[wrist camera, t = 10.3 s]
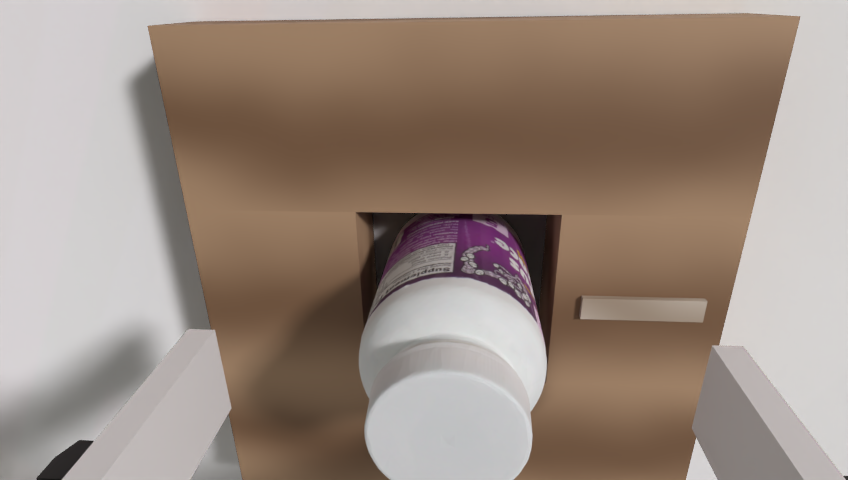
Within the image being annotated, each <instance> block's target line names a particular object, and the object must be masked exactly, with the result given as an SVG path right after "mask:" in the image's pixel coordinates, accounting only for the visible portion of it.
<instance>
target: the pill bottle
mask: <svg viewBox="0 0 848 480" xmlns="http://www.w3.org/2000/svg"><path fill="white" fill-rule="evenodd" d="M359 371H360V376H361V380H362V384H363V387H364V389H365V391H366V394H367V396H368V398H369V404H368V409H367V414H366V420H365V425H364V434H365V442H366V446H367V449H368V451H369V454H370V456H371V458H372V459H373V461H374V463H375V464H376V466H377V467H378V469H379V470H380V471H381V472H382V473H383V474H384V475H385V476H386V477H387V478H389V479H390V480H514V479H515V478H516V477H517V476H518V475H519V473H520V472H521V471H522V469H523V468H524V466H525V465H526V463H527V461H528V459H529V456H530V452H531V448H532V438H533V435H532V423H531V413H530V412H531V411H532V410H533V408H534V407H535V405H536V403H537V401H538V400H539V398H540V395H541V393H542V390H543V387H544V383H545V378H546V372H547V357H546V348H545V342H544V337H543V333H542V329H541V324H540V320H539V315H538V311H537V306H536V302H535V297H534V293H533V289H532V284H531V280H530V276H529V272H528V266H527V263H526V258H525V254H524V250H523V246H522V244H521V242H520V240H519V238H518V236H517V234H516V233H515V231H514V230H513V228H512V227H511V226H510V225H509V224H508V223H507V222H506V221H505V220H504V219H503V218H502V217H500V216H499V215H497V214H462V213H418V214H417V215H415V216H414V217H413V218H411V219H410V220H409V221H408V222H407V223H406V224H405V225H404V226H403V228H402V229H401V230H400V232H399V233H398V235H397V237H396V239H395V241H394V243H393V246H392V248H391V251H390V254H389V257H388V260H387V263H386V266H385V269H384V272H383V275H382V278H381V281H380V284H379V287H378V290H377V292H376V295H375V299H374V301H373V304H372V307H371V310H370V313H369V316H368V319H367V323H366V325H365V328H364V331H363V334H362V336H361V343H360V349H359Z"/></svg>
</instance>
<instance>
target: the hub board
mask: <svg viewBox="0 0 848 480" xmlns="http://www.w3.org/2000/svg"><path fill="white" fill-rule="evenodd" d="M799 20H800V16H783V15H766V14H749V13H742V14H674V15H607V16H540V17H473V18H405V19H338V20H271V21H204V22H186V23H174V24H163V25H152V26H148V30H149V35H150V40H151V44H152V49H153V54H154V59H155V64H156V68H157V73H158V78H159V83H160V87H161V92H162V97H163V102H164V107H165V111H166V116H167V121H168V126H169V130H170V135H171V140H172V145H173V150H174V154H175V159H176V164H177V169H178V173H179V178H180V183H181V188H182V193H183V197H184V202H185V207H186V212H187V216H188V221H189V226H190V231H191V236H192V240H193V245H194V250H195V255H196V259H197V264H198V269H199V274H200V279H201V283H202V288H203V293H204V298H205V302H206V307H207V312H208V317H209V322H210V326H211V330H215V332H216V337H217V342H218V347H219V351H220V356H221V361H222V366H223V370H224V375H225V380H226V384H227V389H228V394H229V399H230V403H231V410H230V412H229V417H230V422H231V427H232V431H233V436H234V441H235V446H236V451H237V455H238V460H239V465H240V470H241V474H242V479H243V480H390V479H389V478H387V477H386V476H385V475H384V474H383V473H382V472H381V471H380V470H379V469H378V467H377V466H376V464H375V463H374V461H373V459H372V458H371V456H370V454H369V451H368V449H367V446H366V442H365V434H364V425H365V420H366V414H367V409H368V404H369V398H368V396H367V394H366V391H365V389H364V387H363V384H362V380H361V376H360V371H359V349H360V343H361V336H362V334H363V331H364V328H365V325H366V323H367V319H368V316H369V313H370V310H371V307H372V304H373V301H374V299H375V295H376V292H377V282H376V265H375V248H374V231H373V214H372V212H384V213H462V214H540V215H547V218H546V231H545V243H544V255H543V267H542V279H541V291H540V304H539V320H540V324H541V329H542V333H543V337H544V342H545V348H546V357H547V372H546V378H545V383H544V387H543V390H542V393H541V395H540V398H539V400H538V401H537V403H536V405H535V407H534V408H533V410H532V411H531V412H530V413H531V423H532V435H533V438H532V448H531V452H530V456H529V459H528V461H527V463H526V465H525V466H524V468H523V469H522V471H521V472H520V473H519V475H518V476H517V477H516V478H515V479H514V480H686V476H687V472H688V468H689V464H690V460H691V456H692V452H693V448H694V444H695V440H696V436H695V434H694V432H693V430H692V424H693V420H694V416H695V412H696V408H697V404H698V400H699V396H700V392H701V388H702V384H703V380H704V376H705V372H706V368H707V364H708V360H709V356H710V352H711V348H712V345H716V346H719V343H720V339H721V335H722V331H723V327H724V323H725V319H726V315H727V311H728V307H729V303H730V299H731V295H732V290H733V286H734V282H735V278H736V274H737V270H738V266H739V262H740V258H741V254H742V250H743V246H744V242H745V238H746V234H747V230H748V226H749V222H750V218H751V214H752V210H753V206H754V202H755V198H756V194H757V190H758V186H759V182H760V177H761V173H762V169H763V165H764V161H765V157H766V153H767V149H768V145H769V141H770V137H771V133H772V129H773V125H774V121H775V117H776V113H777V109H778V105H779V101H780V97H781V93H782V89H783V85H784V81H785V77H786V73H787V69H788V64H789V60H790V56H791V52H792V48H793V44H794V40H795V36H796V32H797V28H798V24H799Z"/></svg>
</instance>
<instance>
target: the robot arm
mask: <svg viewBox="0 0 848 480" xmlns="http://www.w3.org/2000/svg"><path fill="white" fill-rule="evenodd" d="M230 410H231V403H230V399H229V394H228V389H227V384H226V380H225V375H224V370H223V366H222V361H221V356H220V351H219V347H218V342H217V337H216V332H215V330H205V329H188V330H187V331H186V332H185V333H184V334H183V336H182V337H181V338H180V339H179V340H178V342H177V343H176V344H175V345H174V346H173V348H172V349H171V350H170V351H169V352H168V353H167V355H166V356H165V357H164V358H163V359H162V361H161V362H160V363H159V364H158V365H157V367H156V368H155V369H154V370H153V371H152V373H151V374H150V375H149V376H148V377H147V379H146V380H145V381H144V382H143V383H142V385H141V386H140V387H139V388H138V389H137V390H136V392H135V393H134V394H133V395H132V396H131V398H130V399H129V400H128V401H127V402H126V404H125V405H124V406H123V407H122V408H121V410H120V411H119V412H118V413H117V414H116V416H115V417H114V418H113V419H112V420H111V422H110V423H109V424H108V425H107V426H106V427H105V429H104V430H103V431H102V432H101V433H100V435H99V436H98V437H97V438H96V439H95V441H86V440H79V441H77V442H76V443H75V444H73V445H72V446H70V447H69V448H68V449H66V450H65V451H63V452H62V453H61V454H59V455H58V456H56V457H55V458H54V459H53V460H52V461H51V462H50V464H49V465H48V466H47V467H46V468H45V469H44V470H43V471H42V473H41V474H40V475H39V476H38V477H37V480H191V478H192V476H193V474H194V473H195V471H196V469H197V468H198V466H199V464H200V462H201V461H202V459H203V457H204V455H205V454H206V452H207V450H208V448H209V447H210V445H211V443H212V441H213V440H214V438H215V436H216V434H217V433H218V431H219V429H220V427H221V426H222V424H223V422H224V420H225V419H226V417H227V415H228V413H229V412H230ZM692 430H693V432H694V434H695V436H696V438H697V440H698V442H699V444H700V445H701V447H702V449H703V451H704V453H705V455H706V457H707V459H708V461H709V463H710V465H711V467H712V469H713V471H714V473H715V475H716V477H717V479H718V480H848V476H843V475H842V474H841V473H840V471H839V470H838V469H837V468H836V466H835V465H834V464H833V462H832V461H831V460H830V458H829V457H828V456H827V455H826V453H825V452H824V451H823V449H822V448H821V447H820V445H819V444H818V443H817V442H816V440H815V439H814V438H813V436H812V435H811V434H810V432H809V431H808V430H807V428H806V427H805V426H804V425H803V423H802V422H801V421H800V419H799V418H798V417H797V415H796V414H795V413H794V412H793V410H792V409H791V408H790V406H789V405H788V404H787V402H786V401H785V400H784V399H783V397H782V396H781V395H780V393H779V392H778V391H777V389H776V388H775V387H774V386H773V384H772V383H771V382H770V380H769V379H768V378H767V376H766V375H765V374H764V373H763V371H762V370H761V369H760V367H759V366H758V365H757V363H756V362H755V361H754V360H753V358H752V357H751V356H750V354H749V353H748V352H747V350H746V349H745V348H744V347H743V346H716V345H712V348H711V352H710V356H709V360H708V364H707V368H706V372H705V376H704V380H703V384H702V388H701V392H700V396H699V400H698V404H697V408H696V412H695V416H694V420H693V424H692Z"/></svg>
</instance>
